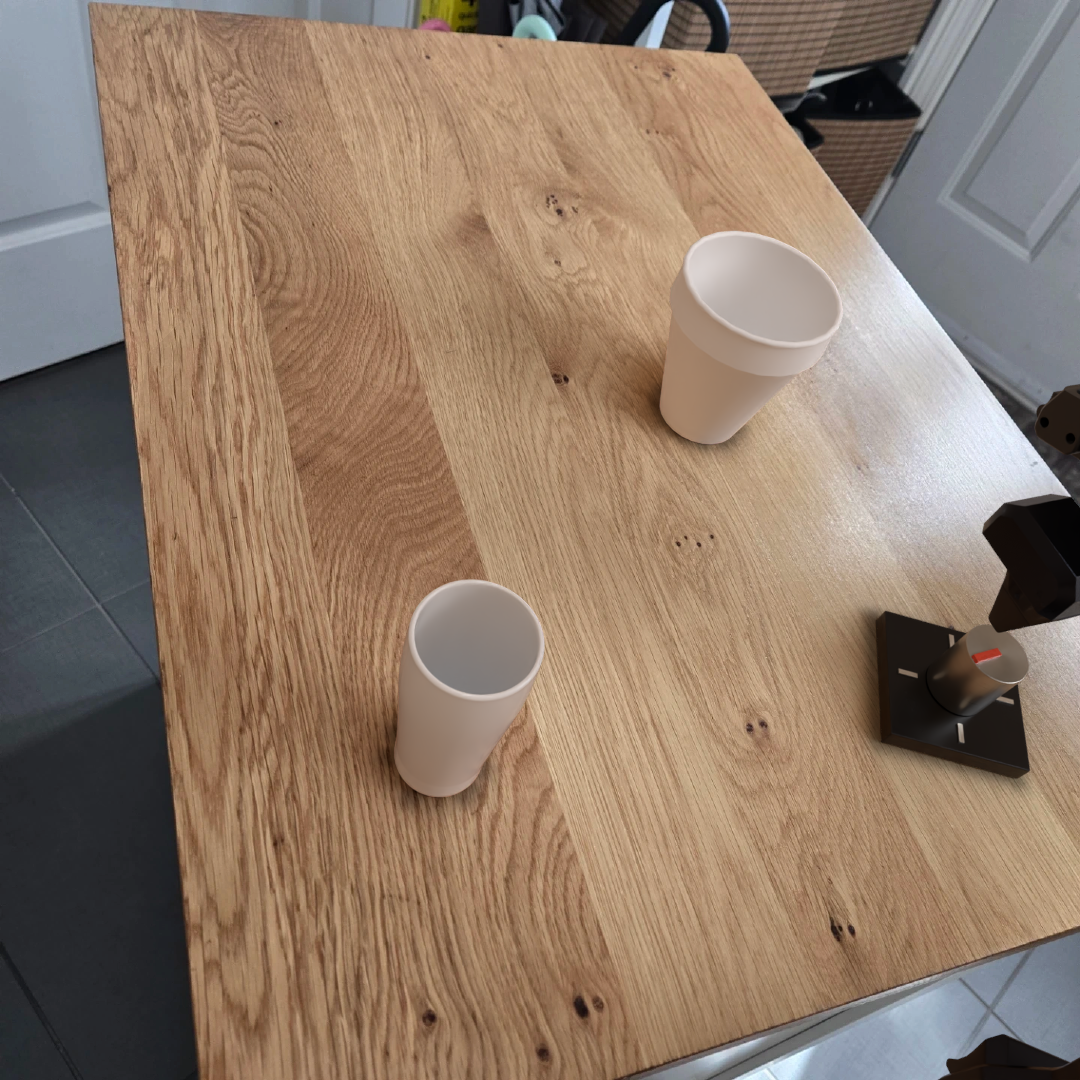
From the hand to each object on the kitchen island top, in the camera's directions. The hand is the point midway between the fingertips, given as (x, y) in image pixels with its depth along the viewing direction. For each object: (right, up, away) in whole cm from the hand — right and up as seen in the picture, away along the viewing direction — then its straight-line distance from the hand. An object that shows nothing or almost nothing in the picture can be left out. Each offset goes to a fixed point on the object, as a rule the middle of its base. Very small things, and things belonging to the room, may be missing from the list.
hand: (1050, 611), depth 59 cm
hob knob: (-2, -6, +8) cm, 10 cm away
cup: (-18, +15, +21) cm, 31 cm away
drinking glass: (-37, -9, -1) cm, 39 cm away
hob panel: (-3, -7, +10) cm, 12 cm away
